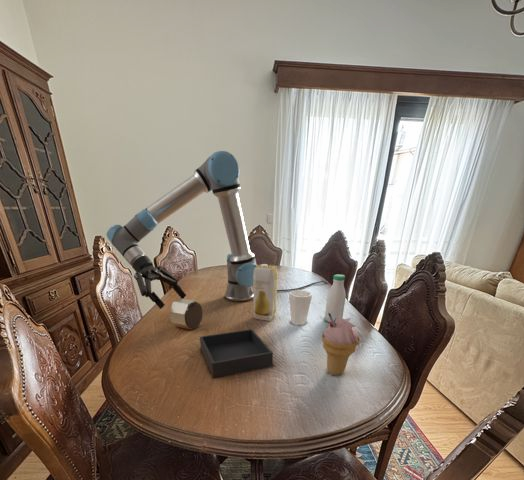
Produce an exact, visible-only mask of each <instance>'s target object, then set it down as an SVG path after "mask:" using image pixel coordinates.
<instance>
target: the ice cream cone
mask: <svg viewBox="0 0 524 480" xmlns="http://www.w3.org/2000/svg"><path fill="white" fill-rule="evenodd" d="M328 315H329V317H330V320H331V322H329V325H330V326H329V325H328V326H329V327H328V328H327V329H326V328H325V331H324V332H323V333H322V334H321V340H322V342H323V343H322V348H323V350H324V351H325V352H326V369H327V372H328V373H329V375H331V376H335V377H338V376H341V375H343V373H345V370H346V367H347V364H348V360H349V358H350V356H351V355H353V354H354V353H355V352H356V351H357V347H358V346H359V345H360V341H361V338H360V335H359V332H358V331H357V330H356V329H355V327H356V325H355V324H353V323H352V322H350V321H346V320H345V319H346V318H342V319H335V320H334V321H333V319H332V316H331V314H330V313H328Z"/></svg>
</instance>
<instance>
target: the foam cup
mask: <svg viewBox="0 0 524 480" xmlns="http://www.w3.org/2000/svg"><path fill="white" fill-rule="evenodd" d="M288 298H289V308H290V321H291V324H293V325H295V326H303V325H305V324H307V319H308V315H309V311H310V307H311V302H312V300H313V299H312V298H313V293H312V292H310V291H308V290H302V289H297V290H290V292H289V296H288Z"/></svg>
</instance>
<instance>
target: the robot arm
mask: <svg viewBox="0 0 524 480" xmlns="http://www.w3.org/2000/svg"><path fill="white" fill-rule="evenodd" d="M239 178H240V164H239V162H238V160H237V158H236V156H235V155H233V154H232V153H231V152H229V151H227V150H217V151H215V152H213V153H212V154H211V155H210V156H208V157H207V159H206V160H205V161H204V162H203V163H202V164H201V165H200V166H198V168H196V169H195V170H194V171H193V175H191V176H190V177H188V178H187V179H185V180H184V181H182V182H180V184H178V185H176V186H175V187H174V188H173V189H171V190H170V191H168V192H167V193H165V194H163V196H161V197H159V198H158V199H157V200H155V201H154V202H152V203H151V204H150V205H148V206H146V208H144V209H142V210H140V211H138V212H137V213H136V214H135V215H134V216H133V218H131V219H130V220H129V221H128V222H127V223H126V224H125V225H123V226H122V225H121V224H114V225H113V226H110V227H109V228H108V229H107V231H106V238H107V239H108V240H109V242H110V243H111V245H112V246H113V247H114V248H115V249H116V250H117V251H118V253H119V254H120V255H121V256H122V257H123V258H124V259H125V261H126V262H127V263H128V264H129V266H131V268H132V269H133V270H134V271H135V273H134V275H133V278H134V279H135V280H136V284H137V286H138V290H139V292H140V295H141V297H145V298H149V299H150V300H151V302H153V303H155V305H156V306H157V307H158V308H159V309H160V310H162V309H163V308H164V306H165V305H166V304H165V303H164V302H163V301H162V300H161V298H160V297H159V296H158V294H156V293H155V291H152V281H156V280H157V281H162V282H163V283H166V284H168V285H169V286H171V287H172V289H173V290H174V292H175V293H176V294H177V295H178V296H179V298H182V299H185V297H187V294H186V293H185V292H184V290H183V289H182V287H181V286H180V285H179V284H178V282H179V279H178V278H177V277H176V276H175V275H173V274H171V272H168V271H167V270H166V269H165V268H163V267H162V265H158V267H156V266H154V264H153V261H152V260H151V259H150V258H149V256H147V253H146V252H144V250H143V249H142V248H141V247H140V246H139V245H138V243H139V242H141V241H142V240H143V239H145V237H146V236H147V235H149V234H150V233H151V232H152V231H154V230H155V228H157V226H158V225H160V223H162V222H163V221H165V220H166V219H167V218H169V217H170V216H172V215H174V214H175V213H176V212H177V211H179V210H181V209H182V208H183V207H185V206H186V205H188V204H189V203H191V202H192V201H193V200H195V199H196V198H198V197H199V196H200V195H202V194H203V193H207V194H208V193H209V192H212V195H214V196H215V197H216V198H217V201H218V204H219V208H220V213H221V216H222V220H223V225H224V228H225V232H226V236H227V240H228V244H229V249H230V252H231V253H228V254H227V255H226V269H227V286H226V290H225V294H224V296H225V299H226V300H227V301H229V302H235V303H236V302H237V303H243V302H248V301H251V300H253V288H252V287H253V275H254V268H255V267H257V266H258V264H257V260H256V257H255V253H254V252H252V251H251V249H250V244H249V238H248V234H247V229H246V224H245V220H244V215H243V209H242V206H241V202H240V197H239V192H240V190H241V183H240V179H239ZM319 283H324V284H328V283H327V282H326V281H324V280H320V281H316V282H315V281H314V282H311V283H309V284H307V285H303V286H301V287H296V288H289V289H277V292H289V291H290V292H291V291H295V290H302V289H304V288H307V287H309V286H312V285H315V284H319Z"/></svg>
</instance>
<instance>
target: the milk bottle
mask: <svg viewBox="0 0 524 480" xmlns="http://www.w3.org/2000/svg"><path fill="white" fill-rule="evenodd" d="M332 278H333V279H332V281H333V282H332V285H331V287H330V288H329V290H328V291H327V292H328V293H327V298H326V304H325V312H324V313H325V314H324V321H326V322H328V323H331V320H330V317H329V315H328V313H330V314H331V316H332V319H333V321H334V320H335V319H344V310H345V305H346V299H347V294H346V293H347V292H346V289H345V285H344V282H345V280H346V276H345V275H344V274H339V273H338V274H334V275H333V277H332Z"/></svg>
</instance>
